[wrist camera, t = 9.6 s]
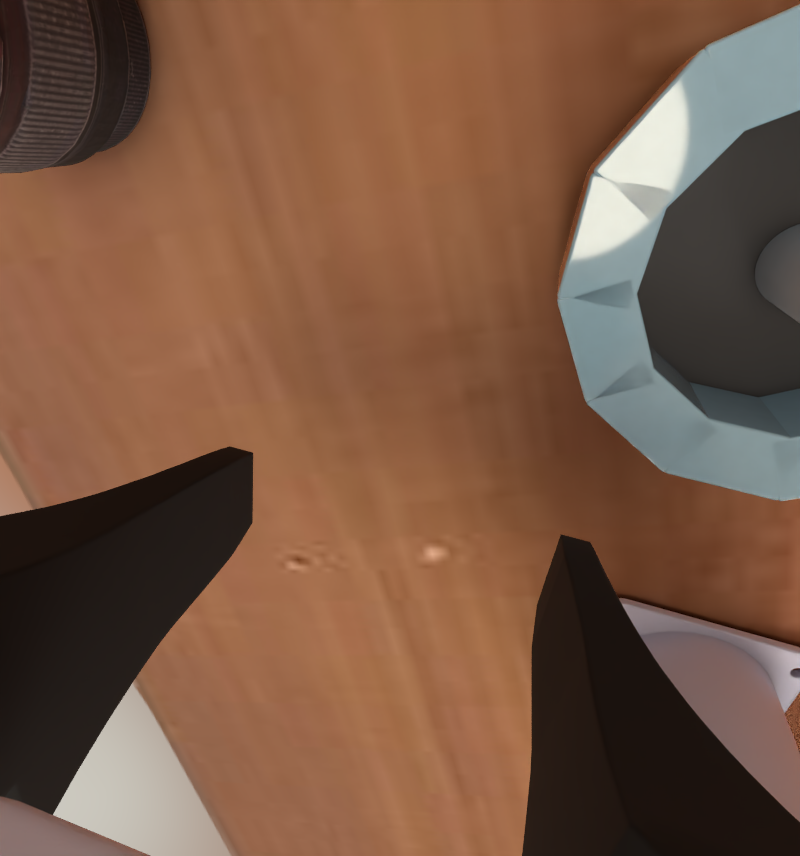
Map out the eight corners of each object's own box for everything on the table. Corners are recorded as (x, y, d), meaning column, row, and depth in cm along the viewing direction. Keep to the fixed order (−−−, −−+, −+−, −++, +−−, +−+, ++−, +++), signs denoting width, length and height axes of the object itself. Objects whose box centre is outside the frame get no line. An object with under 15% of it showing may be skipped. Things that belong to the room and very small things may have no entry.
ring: (893, 488, 18) (949, 544, 15) (524, 400, 20) (517, 437, 17) (1196, 42, 12) (1365, 12, 10) (638, -18, 14) (654, -57, 12)
